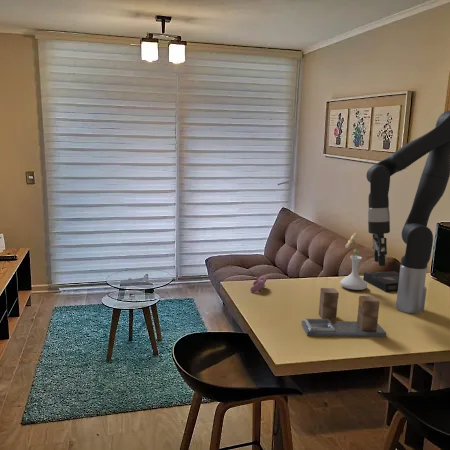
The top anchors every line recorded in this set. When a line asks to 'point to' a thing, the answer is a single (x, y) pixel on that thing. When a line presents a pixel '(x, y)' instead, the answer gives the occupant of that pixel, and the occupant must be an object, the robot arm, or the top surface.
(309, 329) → the rail
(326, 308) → the walnut finger
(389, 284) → the portable cd player
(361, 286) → the flower in vase
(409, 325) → the top surface
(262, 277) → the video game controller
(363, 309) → the block
